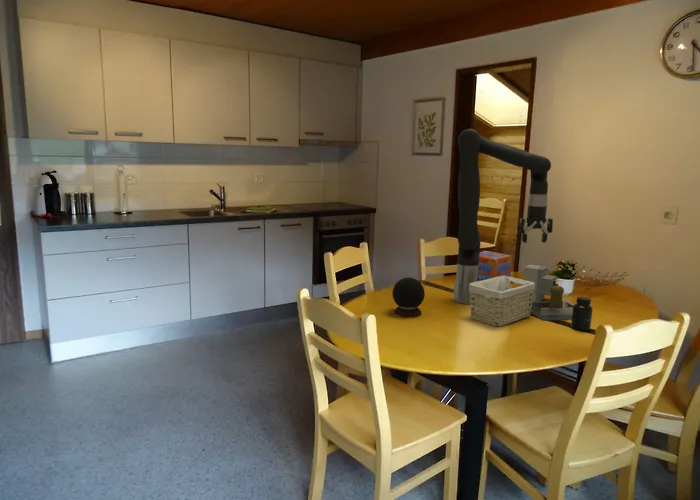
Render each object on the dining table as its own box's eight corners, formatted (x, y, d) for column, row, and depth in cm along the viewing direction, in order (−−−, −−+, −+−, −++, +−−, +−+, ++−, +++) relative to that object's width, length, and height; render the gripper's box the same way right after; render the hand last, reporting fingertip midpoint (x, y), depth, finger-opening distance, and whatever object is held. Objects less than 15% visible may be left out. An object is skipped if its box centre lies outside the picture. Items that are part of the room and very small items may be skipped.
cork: (547, 313, 204) (549, 287, 202) (547, 309, 210) (549, 283, 208) (563, 315, 202) (565, 288, 200) (562, 310, 207) (565, 285, 205)
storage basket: (498, 329, 189) (501, 291, 186) (464, 318, 202) (466, 282, 199) (534, 317, 203) (537, 282, 201) (500, 307, 216) (503, 274, 213)
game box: (510, 285, 254) (512, 255, 251) (493, 290, 243) (495, 259, 240) (483, 279, 265) (485, 250, 262) (466, 284, 255) (468, 254, 252)
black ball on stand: (398, 306, 215) (399, 272, 212) (427, 311, 209) (429, 276, 206) (386, 315, 203) (388, 279, 200) (417, 320, 198) (419, 283, 195)
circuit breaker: (553, 304, 221) (556, 271, 218) (521, 298, 230) (523, 266, 227) (557, 300, 227) (561, 268, 224) (526, 295, 236) (529, 264, 233)
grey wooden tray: (542, 320, 200) (543, 309, 199) (528, 311, 211) (529, 300, 210) (580, 319, 201) (581, 308, 201) (564, 310, 213) (565, 300, 212)
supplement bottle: (589, 332, 186) (592, 301, 184) (569, 329, 190) (572, 298, 188) (591, 327, 192) (594, 297, 190) (572, 324, 196) (575, 294, 193)
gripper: (525, 205, 207) (522, 244, 210) (557, 205, 208) (554, 244, 211) (517, 203, 214) (514, 241, 217) (548, 204, 216) (545, 240, 219)
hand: (534, 242), depth 214 cm, fingers open, 8 cm apart
